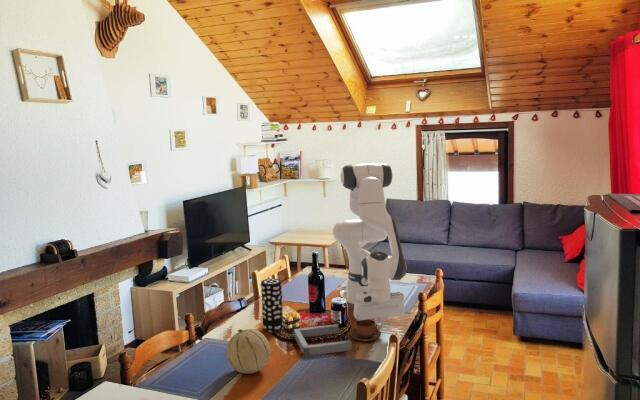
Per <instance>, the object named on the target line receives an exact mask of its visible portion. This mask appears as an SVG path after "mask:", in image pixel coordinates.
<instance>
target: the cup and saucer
mask: <svg viewBox="0 0 640 400" xmlns="http://www.w3.org/2000/svg"><path fill="white" fill-rule="evenodd" d="M355 327H356V328H354V329H351V331H350V333H349V335H350V337H352V338H353V339H354V340H355V341H356V340H357V341H361V342H371V341H374V340H377V339H379V338H380V337H381V336H382V332H381V330H379V329H378V328H377V327H375V322H374V321H373V319H369V320H360V321H358V320H356V321H355Z"/></svg>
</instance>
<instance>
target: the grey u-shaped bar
mask: <svg viewBox="0 0 640 400" xmlns="http://www.w3.org/2000/svg"><path fill="white" fill-rule="evenodd" d="M339 328H340V327H339V324H338V323H335V324H326V325H319V326H318V325H317V326H310V327H301V328H294V329H293V338H294V339H295V342H296V343H297V346H298V347H299V350H300V351H301V352H302V354H303V357H310V356H316V355H323V354H325V355H326V354H331V353H340V352H347V351H352V349H353V347H352V341H351V340H350V339H349V340H343V341H333V342H326V343H318V344H316V343H315V344H308V343H307V341H306V339H305V338H308V337H309V338H310V337H318V336H325V335H333V334H339V333H340V330H339Z"/></svg>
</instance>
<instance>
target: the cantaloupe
mask: <svg viewBox="0 0 640 400" xmlns="http://www.w3.org/2000/svg"><path fill="white" fill-rule="evenodd" d="M271 353H272V351H271V345H270V343H269V340H268V339H267V338H266V336H265V335H264V334H263V333H262V332H261V331H260V330H257V329H254V328H247V329H239V328H238V330H237V332H236V333H235V334H233V335H232V336H231V338H230V339H229V342H228V343H227V347H226V357H227V361H228V363H229V365H230V366H231V367H232V369H234V370H235V371H237V372H238V373H241V374H245V375H246V374H247V375H248V374H255V373H257V372H259V371H261V370H262V369H264V367H266V365H267V364H268V363H269V361H270V358H271V355H272V354H271Z"/></svg>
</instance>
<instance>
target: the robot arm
mask: <svg viewBox="0 0 640 400" xmlns="http://www.w3.org/2000/svg"><path fill="white" fill-rule="evenodd" d="M393 176H394V175H393V171H392V167H391V166H390V164H388V163H383V162H380V163H377V162H375V163H374V162H366V163H357V164H352V163H351V164H347V165H344V166H343V167H342V168H341V171H340V182H341V185H342V186H343V187H344V188H345V189H346V190H349V209H350V211H351V212H352V213H353V214H354V215H355V216H358V217H359V219H344V220H340V221H337V222H336V223H335V224H334V225H333V229H332V234H333V238H334V239H335V241H336V242H338V243H339V244H340V245H341V246H343V248H344V249H345V251H346V253H347V256H348V264H349V268H348V269H349V270H348V273H347V279H346V280H345V281H344V283H343V285H341V290H340V291H339V296H340V298H341V297H343V298H346V300H347V303H346V304H351V305H353V317H354V318H355V320H356V321H360V320H373V321H374V322H375V327H377V328H378V329H384V324H385V322H386V321H387V318H391V317H400V316H403V315H404V314H405V304H404V299H405V296H404V293H402V292H400V291H397V292H391V283H390V281H391V280H392V281H400V280H402V279H403V278H404V277H406V275H407V271H408V268H407V263H406V259H405V257H404V254H403V253H404V252H403V248H402V244H401V241H400V236H399V232H398V227H397V224H396V221H395V218H394V217H393V216H392V215H391V214H389V212H388V210H387V208H386V202H385V201H386V200H385V192H384V188H386V187H389V186H390V185H391V184H392V181H393ZM387 238H388V243H389V248H390V252H391V254H390V255H388V254H387V253H386V252H383V251H373V252H370V251H368V250H367V249H365V248H362V247H361V246H360V244H366V243H367V244H368V243H378V242H382V241H384V240H386V239H387ZM379 319H380V322H378V321H379Z"/></svg>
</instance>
